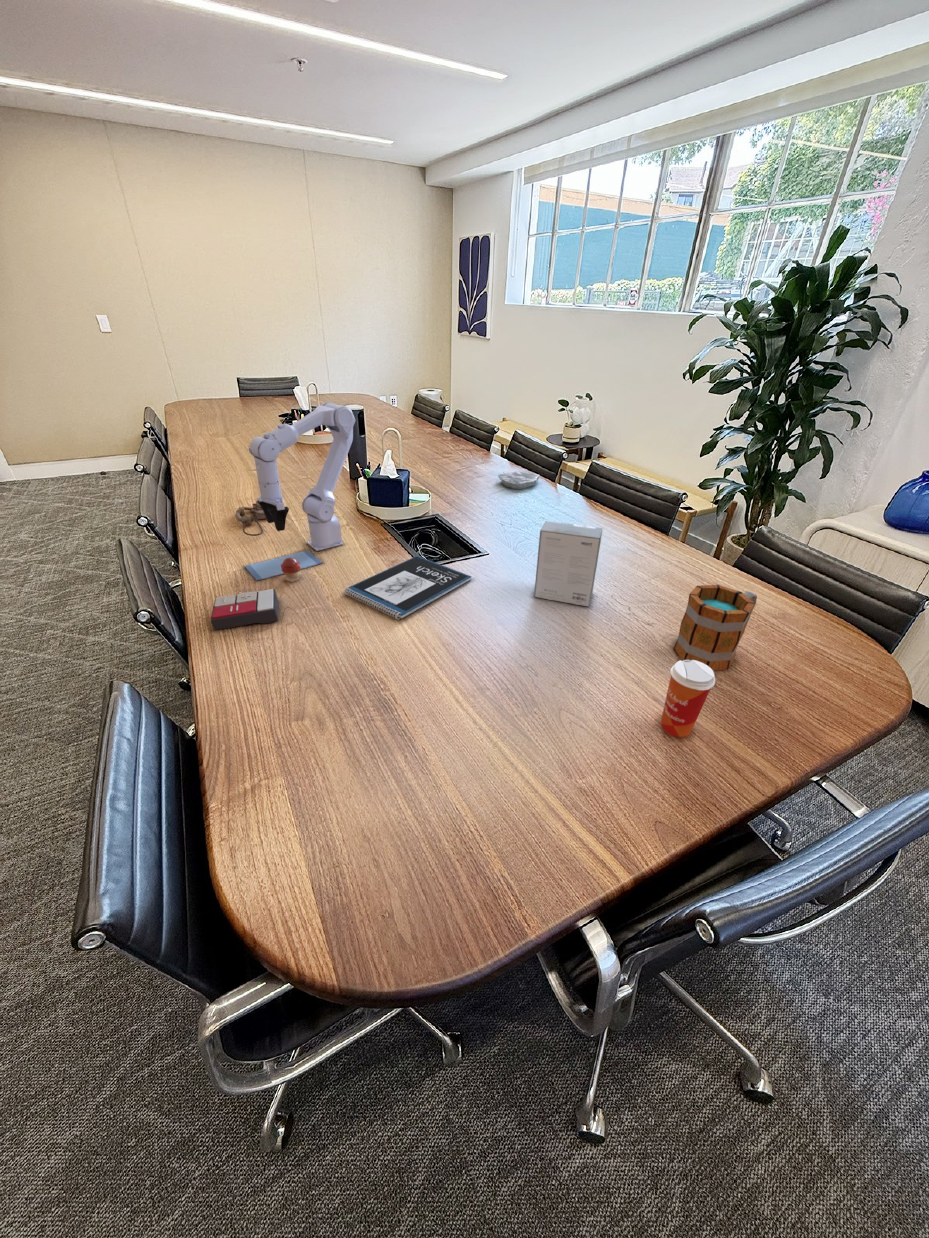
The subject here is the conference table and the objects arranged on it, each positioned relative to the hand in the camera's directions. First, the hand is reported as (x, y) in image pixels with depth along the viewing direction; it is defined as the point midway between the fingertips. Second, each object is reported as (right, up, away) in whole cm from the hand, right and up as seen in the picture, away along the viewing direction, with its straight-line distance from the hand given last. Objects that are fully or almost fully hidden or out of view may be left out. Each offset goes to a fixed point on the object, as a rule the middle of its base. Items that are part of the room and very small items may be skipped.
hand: (276, 526), depth 154 cm
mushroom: (+7, -16, -6) cm, 19 cm away
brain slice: (+80, +32, +74) cm, 114 cm away
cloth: (+2, -12, +1) cm, 12 cm away
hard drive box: (+84, -22, -11) cm, 88 cm away
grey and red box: (+1, -27, -23) cm, 36 cm away
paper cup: (+98, -49, -54) cm, 122 cm away
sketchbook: (+41, -19, -9) cm, 46 cm away
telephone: (-18, +8, +31) cm, 37 cm away
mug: (+116, -36, -32) cm, 125 cm away
